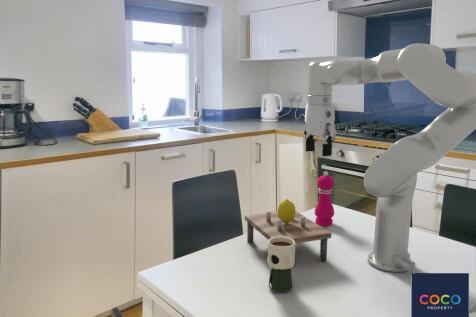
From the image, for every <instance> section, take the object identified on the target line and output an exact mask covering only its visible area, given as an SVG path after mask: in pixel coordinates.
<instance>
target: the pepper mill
mask: <svg viewBox="0 0 476 317" xmlns="http://www.w3.org/2000/svg"><path fill="white" fill-rule="evenodd" d="M316 184H317V186H318V194H319V198H318V202H317V203H316V205H315V208H314V215H315V222H314V223H316V224H317V225H319V226H321V227H330V226H332V225H333V222H334V220H333V217H334V216H335V208H334V206H333V204H332V198H331V196H332V193H333V187H334V186H335V180H334V178H333V177H332V176H330V175H329V172H328V171H324V172H323V175H321V176H319V177H318V178H317V182H316Z"/></svg>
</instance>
